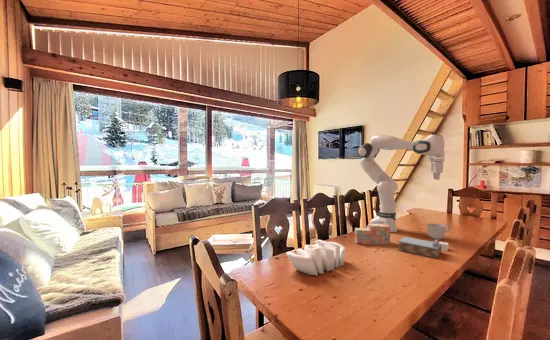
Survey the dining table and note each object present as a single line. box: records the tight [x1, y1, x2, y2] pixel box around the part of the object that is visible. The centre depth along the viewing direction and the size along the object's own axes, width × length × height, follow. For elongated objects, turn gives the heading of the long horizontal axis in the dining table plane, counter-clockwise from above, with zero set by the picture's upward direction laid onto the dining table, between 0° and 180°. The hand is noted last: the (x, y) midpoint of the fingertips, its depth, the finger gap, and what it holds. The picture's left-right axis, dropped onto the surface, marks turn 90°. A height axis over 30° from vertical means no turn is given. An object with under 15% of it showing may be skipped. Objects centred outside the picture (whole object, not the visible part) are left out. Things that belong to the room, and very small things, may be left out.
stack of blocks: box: [354, 223, 391, 245], centre depth 167 cm, size 21×6×12 cm, turn 85°
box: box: [398, 241, 442, 260], centre depth 150 cm, size 20×12×5 cm, turn 48°
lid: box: [398, 236, 441, 250], centre depth 149 cm, size 20×11×3 cm, turn 48°
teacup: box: [426, 222, 450, 241], centre depth 173 cm, size 12×15×10 cm
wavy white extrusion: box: [285, 239, 347, 276], centre depth 132 cm, size 35×16×10 cm, turn 123°
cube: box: [438, 241, 449, 252], centre depth 152 cm, size 4×4×4 cm
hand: (436, 179), depth 166 cm, fingers open, 8 cm apart
